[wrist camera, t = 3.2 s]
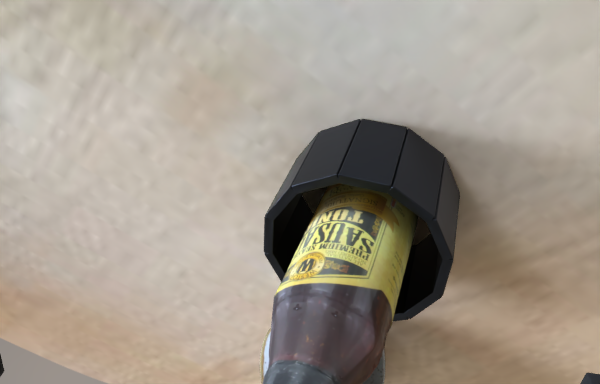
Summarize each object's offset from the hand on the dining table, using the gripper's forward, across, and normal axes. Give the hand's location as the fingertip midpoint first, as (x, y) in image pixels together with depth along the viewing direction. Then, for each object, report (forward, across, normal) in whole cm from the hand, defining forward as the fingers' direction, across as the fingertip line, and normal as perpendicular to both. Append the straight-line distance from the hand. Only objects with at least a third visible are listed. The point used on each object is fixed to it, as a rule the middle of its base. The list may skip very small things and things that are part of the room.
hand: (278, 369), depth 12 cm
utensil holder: (+24, +5, -9) cm, 26 cm away
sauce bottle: (+24, +5, -9) cm, 26 cm away
